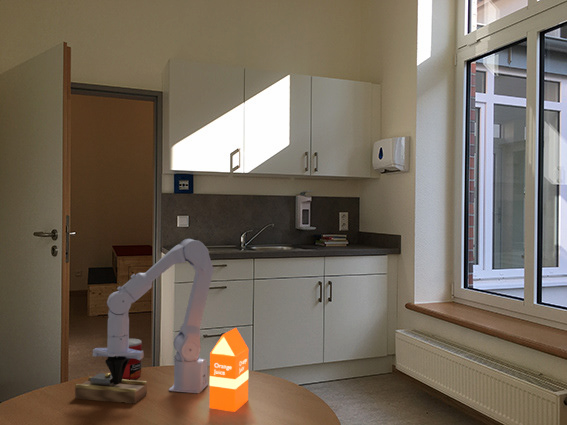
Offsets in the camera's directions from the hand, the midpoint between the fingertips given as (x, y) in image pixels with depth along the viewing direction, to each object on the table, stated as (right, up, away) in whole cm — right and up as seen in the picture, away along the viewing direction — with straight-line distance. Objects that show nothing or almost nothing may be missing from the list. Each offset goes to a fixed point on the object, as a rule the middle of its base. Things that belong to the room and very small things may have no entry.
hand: (117, 383), depth 139 cm
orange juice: (+32, -5, -4) cm, 32 cm away
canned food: (-3, -4, +18) cm, 19 cm away
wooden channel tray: (-2, -4, 0) cm, 4 cm away
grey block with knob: (-4, -1, +1) cm, 4 cm away
